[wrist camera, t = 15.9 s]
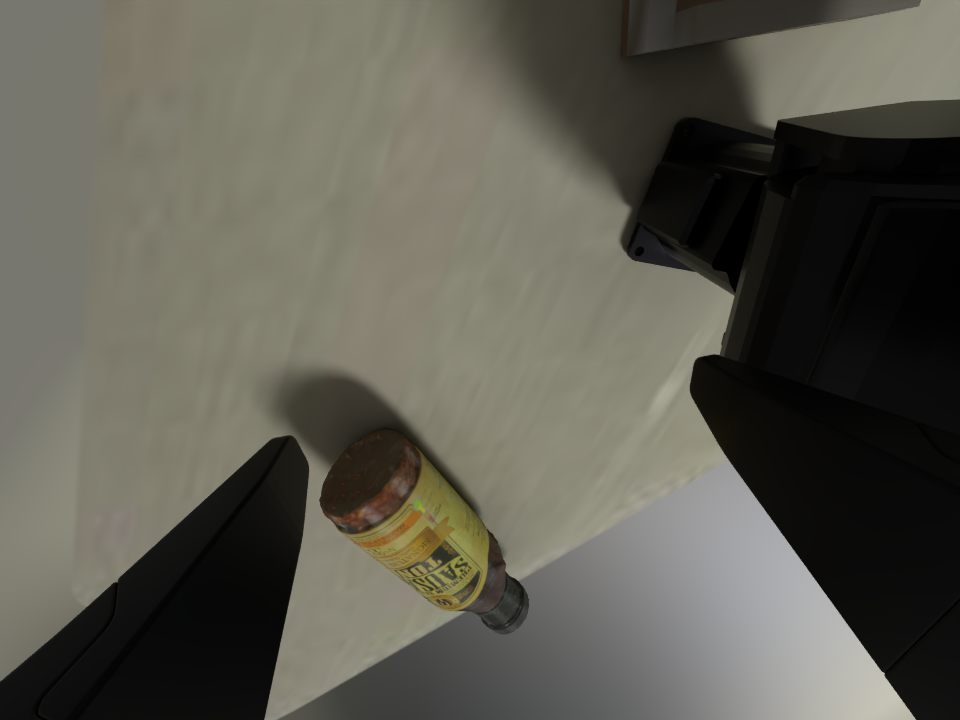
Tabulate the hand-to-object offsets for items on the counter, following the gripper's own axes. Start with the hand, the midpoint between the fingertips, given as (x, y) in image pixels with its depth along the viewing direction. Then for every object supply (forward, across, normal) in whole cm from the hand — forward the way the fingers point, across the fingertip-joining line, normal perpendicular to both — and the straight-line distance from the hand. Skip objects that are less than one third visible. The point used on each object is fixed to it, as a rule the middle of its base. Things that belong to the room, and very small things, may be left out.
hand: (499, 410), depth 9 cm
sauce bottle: (+10, +8, +11) cm, 17 cm away
